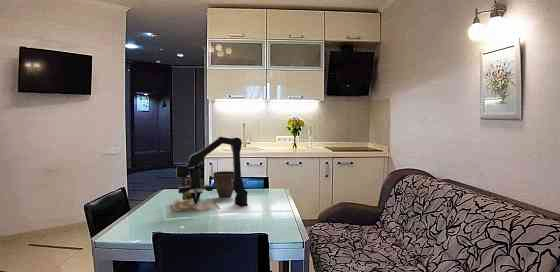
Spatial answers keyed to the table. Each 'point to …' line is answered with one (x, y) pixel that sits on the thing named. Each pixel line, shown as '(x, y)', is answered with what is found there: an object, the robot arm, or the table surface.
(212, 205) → the board
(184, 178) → the coffee box
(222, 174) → the plant pot
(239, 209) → the table surface
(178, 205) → the t block
